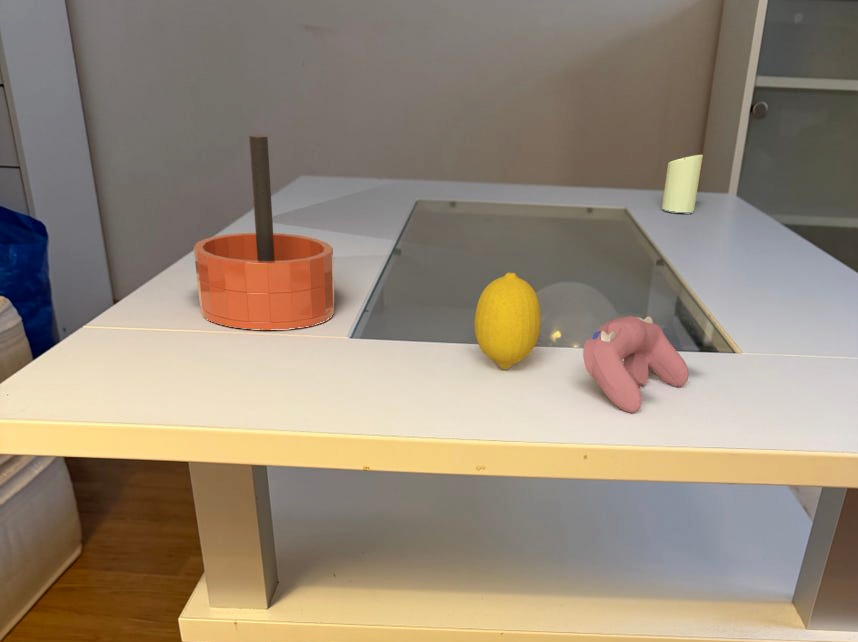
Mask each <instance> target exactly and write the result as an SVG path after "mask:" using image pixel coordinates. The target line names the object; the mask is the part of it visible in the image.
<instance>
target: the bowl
mask: <svg viewBox="0 0 858 642" xmlns="http://www.w3.org/2000/svg"><path fill="white" fill-rule="evenodd" d="M273 237H274V254H275V261H258V259H257V245H256V232H238V233H229V234H221V235H216V236H211V237H207V238H204V239H201V240H199V241H197V242H196V243H195V244H194V246H193V251H194V252H193V254H194V263H195V275H196V283H197V292H198V303H199V306H200V314H201V316H202V315H203V316H202V318H204V317H205V318H206V319H208V320H209V321H208V320H207V321H208V322H210V321H211V322H210V323H212V322H214V323H217V324H221V325H225V326H231V327H236V328H246V329H260V330H262V329H263V330H271V329H289V328H298V327H306V326H312V325H315V324H317V323H320V322H323V321H326V320H327V319H328V318H330V317H331V316H332V315H333V314H335V280H334V278H335V277H334V248H333V247H332V245H330V244H329V243H328V242H327V241H323V240H320V239H318V238H315V237H309V236H306V235H305V236H304V235H299V234H290V233H279V232H278V233H276V232H273ZM333 316H334V315H333ZM205 318H204V319H205ZM206 319H205V320H206ZM214 323H213V324H214ZM217 324H216V325H217ZM221 325H220V326H221ZM225 326H224V327H225Z"/></svg>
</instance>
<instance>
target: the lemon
mask: <svg viewBox="0 0 858 642" xmlns="http://www.w3.org/2000/svg"><path fill="white" fill-rule="evenodd" d="M541 324H542V315H541V306H540V302H539V298H538V295H537V293H536V291H535V290H534V288H533V287H532V286H531V285H530V283H528V282H527V281H526V280H524V279H522V278H520V277H518V275H517V274H516V273H515V272H506V273H505V274H504V276H500V277H498V278H496V279H495V280H493V281H491V282H490V283H489V284H487V286H486V287H485V288H484V289H483V291H482V292H481V294H480V296H479V299H478V302H477V306H476V309H475V314H474V333H475V337H476V341H477V345H478V346H479V349H480V350H481V351H482V353H483V354H484V355H485V357H487V358H488V359H490V360H492V361H494V362H495V363H496V364H497V366H499V367H500V369H502V370H508V369H510V368H511V367H512V366H513V365H514V364H515V363H519V362H521V361H522V360H524V359H525V358H527V357H528V356H529V355H530V354H531V353H532V352H533V351H534V349H535V347H536V345H537V344H538V340H539V337H540V332H541Z"/></svg>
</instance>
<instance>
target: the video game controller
mask: <svg viewBox="0 0 858 642" xmlns="http://www.w3.org/2000/svg"><path fill="white" fill-rule="evenodd" d="M582 357H583V362H584V363H583V364H584V366H585V369H586V372H587V373H588V375H589V376H590V377H591V378H592V379H593V380H594V381H595V383H597V385H598V386H599V388H600V389H601V391H602V392H603V394H604V395H605V396H606V397H607V399H608V400H609V401H610V402H612V404H614V405H615V406H616V407H618V408H619V409H621V411H624V412H626V413H636V412H637V411H638V410H640V409H641V408H642V407H641V406H642V403H643V397H642V392H641V390H640V386H643V385H644V384H646V383H647V382H648V380H649V369H651V371H653V373H654V374H655V375H657V377H659V378H660V379H661V380H662V381H664V382H665V383H667V384H669V385H671V384H672V386H674V385H675V386H674V387H676V386H681V387H683V386H685V385H686V384H687V382H688V380H689V368H688V365H687V363H686V361H685V359H684V358H683V357H682V356H681V355H680V353H679V352H678V351H677V350H676V348H675V347H674V346H673V345H672V343H671V342H670V341H669V340H668V338H667V337H666V334H664V332H663V330H662V329H661V327H660V326H659V325H658V324H657V323H654V322H653V319H652V317H651V316H647V317H645V318H641V317H638V316H634V315H628V316H627V315H626V316H623V317H618V318H614V319H612V320H610V321H608V322H606V323H604V324H603V325H602V326H601V327H599V328H598V330H597V331H596V332H595V333H594V334H593V335H592V336H591V337H589V338H588V339H586V341H585V343H584V345H583V350H582ZM622 361H623V362H622Z"/></svg>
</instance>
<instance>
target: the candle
mask: <svg viewBox="0 0 858 642" xmlns="http://www.w3.org/2000/svg"><path fill="white" fill-rule="evenodd" d="M703 157H704V155H703V154H696V155H690V156H684V157H682V158H678V159H675V160H671V161H669V162H668V163H667V167H666V168H667V170H666V176H665V182H664V189H663V197H662V203H661V210H662V209H665V210H669V211H675V212H693V211H694V212H695V207H696V201H697V194H698V188H699V184H700V183H699V182H700V177H701V170H702V164H703V159H704V158H703ZM694 212H693V213H694Z"/></svg>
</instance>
